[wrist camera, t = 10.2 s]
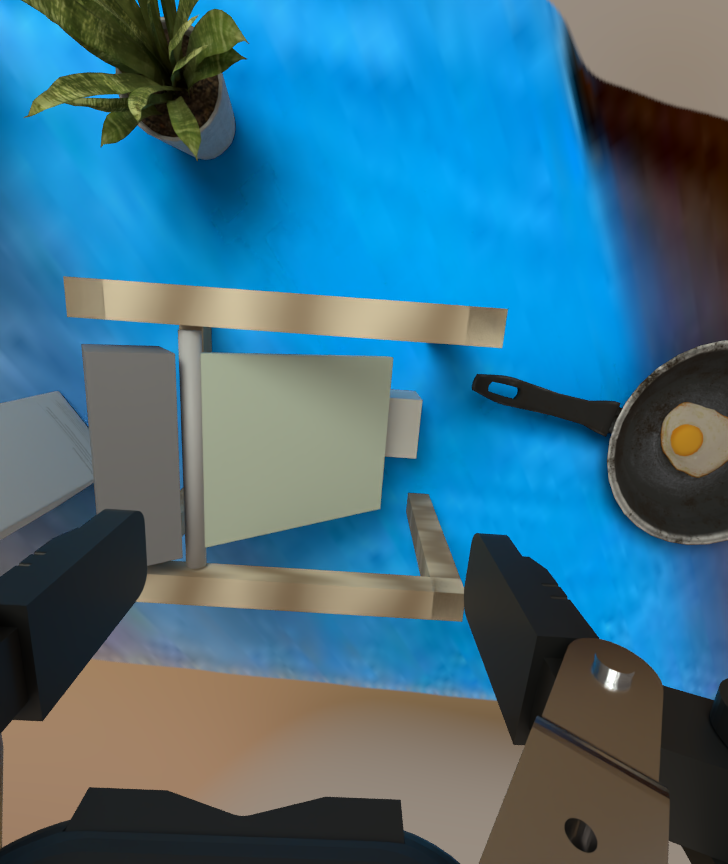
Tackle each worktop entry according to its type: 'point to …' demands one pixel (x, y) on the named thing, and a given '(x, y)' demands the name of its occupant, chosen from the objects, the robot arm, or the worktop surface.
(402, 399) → the cube
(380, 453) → the trapdoor
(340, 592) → the frame
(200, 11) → the worktop surface
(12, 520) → the supplement box
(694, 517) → the frying pan
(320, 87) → the worktop surface
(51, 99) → the house plant
